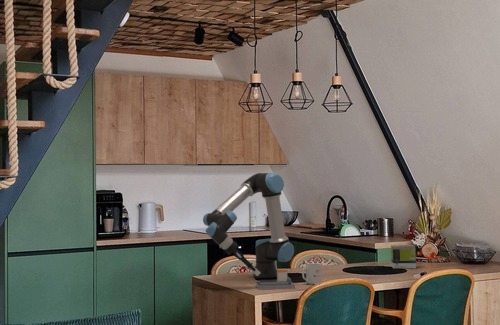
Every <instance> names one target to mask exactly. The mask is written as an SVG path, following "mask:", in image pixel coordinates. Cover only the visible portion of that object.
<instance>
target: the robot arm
mask: <svg viewBox="0 0 500 325" xmlns="http://www.w3.org/2000/svg"><path fill="white" fill-rule="evenodd" d="M284 187H285V182H284V178H283V177H282V176H281V175H280V174H278V173H276V172H275V173H274V172H258V173H255V174H253V175H251V176H249V177H248V178H247V179H245V180H244V181H243V182H242V183H241V185H240V187H239V188H238V189H237V190H236V191H234V192H233V193H232V194H231V195H230V196H229V197H227V199H226V200H224V201H223V202H222V203H221V204H220V205H219V206H218V207H216V208H215V209H214V210H213V211H212V212H208V213H205V214H204V215H203V217H202V221H203V222H202V223H203V224H204V225H205V226H207V227H206V229H205V233H206V234H207V236H209V238H211V239H212V240H213V241H214V242H215V243H216V244H217V245H218V246H219V249H222V250H224V251H225V253H226V254H227V255H228V256H230V255H232V254H233V256H234V257H235V258H237V259H238V260H239V261H241V262H242V263H243V264H244V265H245V266H246V267H247V270H250V271H251V272H252V273H253V274H252V276H253V278H257V279H258V278H259V279H272V278H277V269H278V268H277V267H276V262H281V263H287V262H289V261H290V260H291V259H292V258H293V256H294V253H295V248H294V247H295V246H294V245H293V244H292V242H290V240H289V237H288V236H286V230H285V223H284V217H283V211H282V207H281V206H282V205H281V200H280V197H281V195H282V191H283V190H284ZM257 193H261V197H262V198H263V199H264V201H265V207H266V213H267V217H268V218H267V219H268V223H269V224H268V225H269V231H270V232H269V233H270V237H271V238H263V239H258V240H256V241H255V265H253V262H251V261H249V260H248V259H247V258H246V257H245V255H244V254H243V253H242V252H241V251H240V250H239V249H238V247H239V244H237V242H236V241H234V240H233V238H232V237H231V236H229V235H228V234H227V232H228V231H229V229H230V228H231V227H232V226H233V225H235V223H236V221H237V220H238V217H237V215H236V213H235V212H233V211H234V210H236V209H237V208H238V207H239V206H240V205H241V204H242V203H243V202H245V200H247V199H248V198H249V197H253V196H254V195H255V194H257ZM275 261H276V262H275Z"/></svg>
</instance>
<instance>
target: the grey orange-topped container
mask: <svg viewBox="0 0 500 325" xmlns="http://www.w3.org/2000/svg"><path fill="white" fill-rule="evenodd" d="M276 269H277V277H276V280H277V282H280V281H287V277H288V269H287V268H276Z"/></svg>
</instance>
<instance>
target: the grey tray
mask: <svg viewBox="0 0 500 325" xmlns="http://www.w3.org/2000/svg"><path fill="white" fill-rule="evenodd" d="M255 286H256V288H257V289H258V290H260V291H261V289H263V290H287V289H289V290H290V289H291V290H292V288H293V289H296V284H295V283H294V282H292V278H290V277H289V276H287V281H280V282H277V279H259V281H257V282H255Z"/></svg>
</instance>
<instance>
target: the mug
mask: <svg viewBox="0 0 500 325" xmlns="http://www.w3.org/2000/svg"><path fill="white" fill-rule="evenodd" d="M301 272H302V273H301V277H302V279H303V280H304V281H305V282H306V284H307V285H309V286H311V285H312V286H314V285H313V284H315V283H318V282H321V281H322V280H323V279H322V277H323V276H322V274H323V273H322V263H306V264H305V267H302V268H301ZM321 283H322V282H321Z"/></svg>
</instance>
